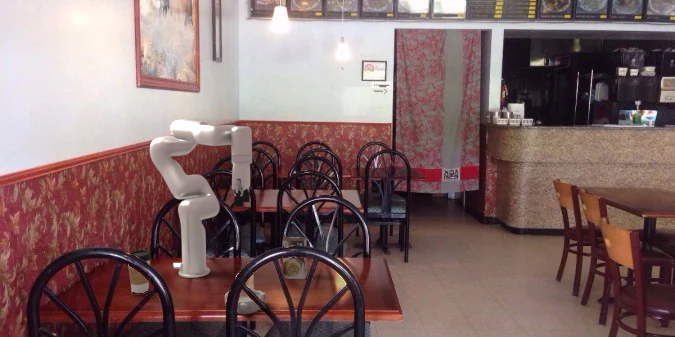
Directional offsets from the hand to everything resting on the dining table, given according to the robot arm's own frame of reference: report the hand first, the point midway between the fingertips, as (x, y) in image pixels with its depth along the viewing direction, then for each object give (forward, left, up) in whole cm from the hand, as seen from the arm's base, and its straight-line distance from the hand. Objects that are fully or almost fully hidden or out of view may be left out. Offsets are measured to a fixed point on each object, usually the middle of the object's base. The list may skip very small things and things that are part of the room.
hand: (242, 204), depth 207 cm
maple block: (+6, -20, -28) cm, 35 cm away
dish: (+6, -20, -33) cm, 39 cm away
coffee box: (+18, +14, -32) cm, 40 cm away
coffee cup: (-37, -9, -32) cm, 50 cm away
